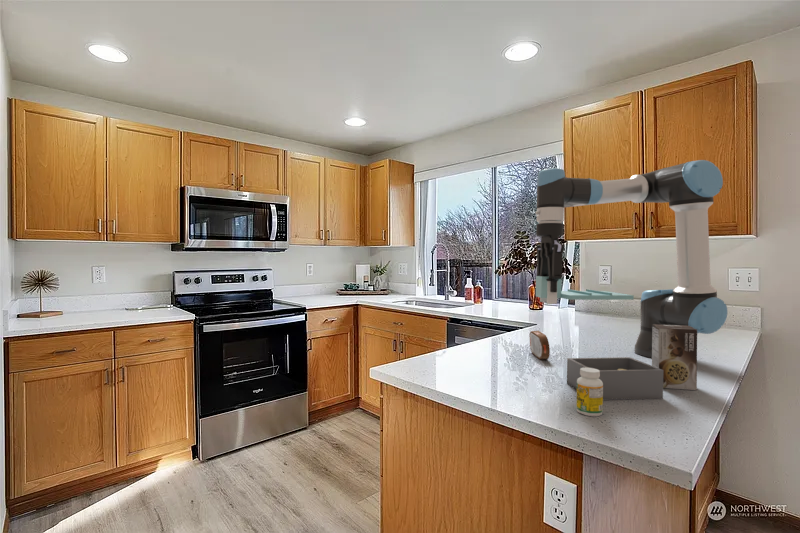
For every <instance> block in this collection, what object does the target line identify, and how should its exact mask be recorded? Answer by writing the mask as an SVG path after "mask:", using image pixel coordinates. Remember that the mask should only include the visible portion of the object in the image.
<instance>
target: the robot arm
mask: <svg viewBox="0 0 800 533" xmlns="http://www.w3.org/2000/svg"><path fill="white" fill-rule="evenodd" d="M536 179H537V180H536V211H535V215H536V222H537V224H536V225H535V226H536V228H535V230H536V231H535V235H536V237H539V238H541V239H540V244H537V245H536V246H535V248H536V276H549V279H546V280H547V298H540V297H539V303H546V304H549V305H550V304H553V305H557V304H558V298H557V281H558V280H559V279H562V278H563V261H564V260H563V257H564V256H563V254H564V249H565V244H564V243H563V244H562V243H561V244H560V239H559V237H563V236H564V224H563V222H564V221H565V219H564V218H565V208H570V207H581V206H590V205H601V204H610V203H611V204H612V203H619V202H620V203H622V202H623V203H624V202H630V201H631V202H632V203H634V204H635V203H636V204H639V203H640V204H641V203H657V204H660V203H661V204H662V203H663V204H664V203H668V207H669V208H670V209H671V210H672V211H673V212H674V216H675V217H674V218H675V219H674V220H675V239H676V240H675V242H676V244H675V245H676V247H675V248H676V259H677V260H676V267H677V271H676V272H677V286H676V287H674V289H673V288H669V289H650V290H649V289H648V290H644V291H642V293H641V298H640V300H639V301H640V330H639V334H638V336H637V339H636V342H635V344H634V350H633V351H634V353H635V354H637V355H640V356H643V357H647V358H652V324H657V325H685V326H691V327H693V328H694V329H697V334H704V335H711V334H713V333H715V332H717V331H719V330H720V329H721V328H722V327H723V326H724V325H725V323H726V321H727V318H728V312H729V311H728V306H727V304H726V303H725V301H724V300H723V299H721V298H719V297H718V292H717V289H716V288H715V287H713V286H712V285H711V262H710V238H709V237H710V235H709V212H708V211H709V208H710V207H711V206H712V205H713V204H714V196H716V195H718V194H719V193H720V192H721V189H722V188H723V185H724V180H723V179H724V178H723V174H722V173H721V170H720V168H719V167H718V166H716V165H715V163H713V162H711V161H710V160H707V159H698V160H692V161H687V162H683V163H680V164H676V165H675V164H674V165H672V166H668V167H663V168H661V169H657V170H654V171H653V170H652V171H650V172H645V173H642V174H634V175H632V176H631V177H630V178H621V179H609V180H598V179H595V178H590V177H588V178H582V177H580V178H579V177H567V176H566V174H565V170H564V169H562V168H545V169H542V170H540V171H539V172H538V174H537V178H536Z"/></svg>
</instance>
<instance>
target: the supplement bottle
mask: <svg viewBox="0 0 800 533" xmlns="http://www.w3.org/2000/svg"><path fill="white" fill-rule="evenodd" d="M580 375H581V377H579V378H578V379H577V390H576V402H575V403H576V406H575V407H576V411H577V413H579V414H580V415H583V416H587V417H600V416H602V415H603V412H604V409H603V406H604V403H603V402H604V400H603V382H602V381H601V380H600V379H598V378H599V377H600V371H599V370H598V369H594V368H581V369H580Z"/></svg>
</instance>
